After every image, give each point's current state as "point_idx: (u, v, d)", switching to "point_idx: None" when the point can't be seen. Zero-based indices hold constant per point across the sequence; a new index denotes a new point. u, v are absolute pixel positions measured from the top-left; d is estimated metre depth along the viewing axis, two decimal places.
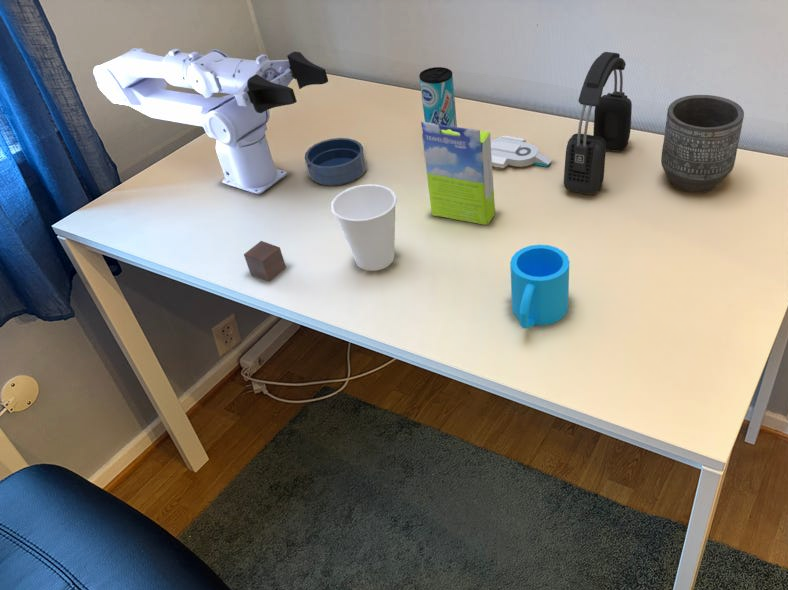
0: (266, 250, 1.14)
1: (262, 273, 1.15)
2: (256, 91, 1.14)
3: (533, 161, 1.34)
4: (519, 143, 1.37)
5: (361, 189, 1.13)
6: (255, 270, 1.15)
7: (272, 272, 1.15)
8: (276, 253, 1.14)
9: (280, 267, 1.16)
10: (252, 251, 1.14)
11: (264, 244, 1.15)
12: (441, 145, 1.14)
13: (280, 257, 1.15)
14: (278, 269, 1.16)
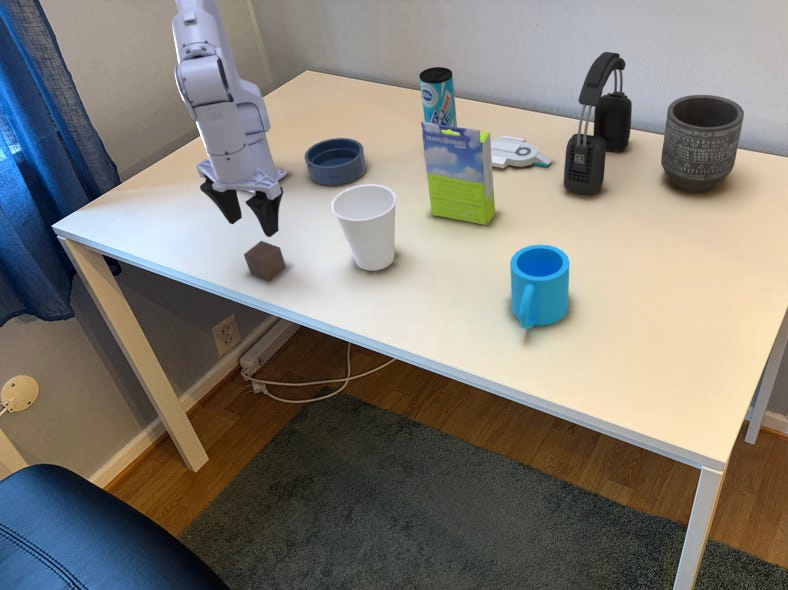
0: (266, 250, 1.14)
1: (262, 273, 1.15)
2: None
3: (533, 161, 1.34)
4: (519, 143, 1.37)
5: (361, 189, 1.13)
6: (255, 270, 1.15)
7: (272, 272, 1.15)
8: (276, 253, 1.14)
9: (280, 267, 1.16)
10: (252, 251, 1.14)
11: (264, 244, 1.15)
12: (441, 145, 1.14)
13: (280, 257, 1.15)
14: (278, 269, 1.16)
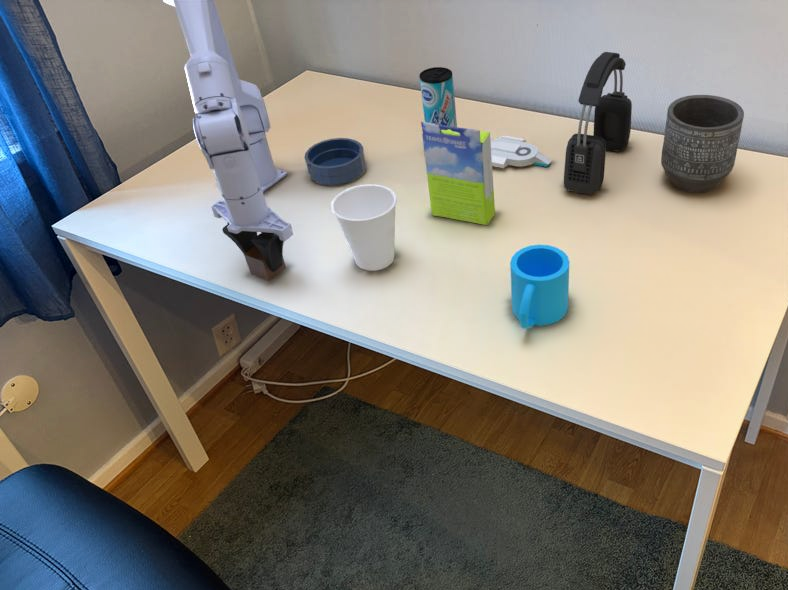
0: None
1: (262, 273, 1.15)
2: None
3: (533, 161, 1.34)
4: (519, 143, 1.37)
5: (361, 189, 1.13)
6: (256, 270, 1.15)
7: (272, 272, 1.15)
8: None
9: (280, 267, 1.16)
10: (252, 251, 1.14)
11: None
12: (441, 145, 1.14)
13: None
14: (278, 269, 1.16)
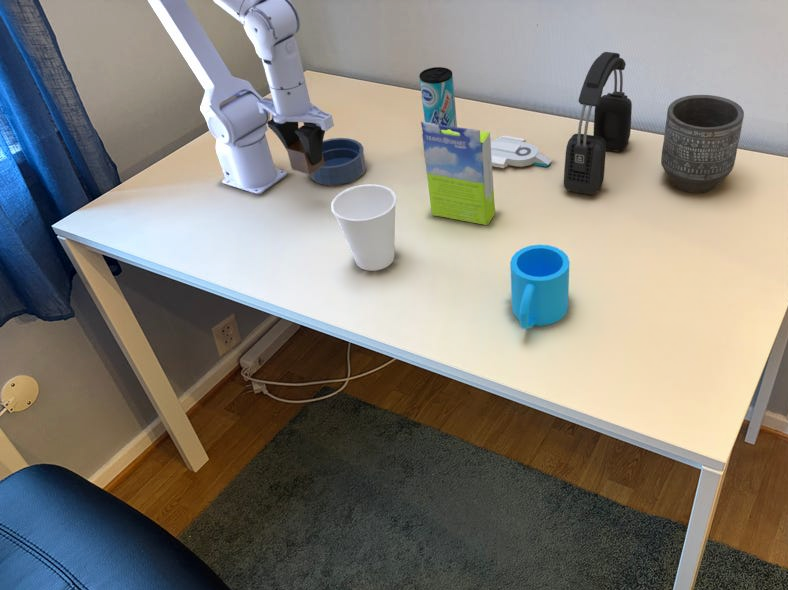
0: None
1: (303, 166, 1.23)
2: None
3: (533, 161, 1.34)
4: (519, 143, 1.37)
5: (361, 189, 1.13)
6: (297, 164, 1.24)
7: (312, 166, 1.24)
8: None
9: (319, 162, 1.25)
10: (294, 146, 1.23)
11: None
12: (441, 145, 1.14)
13: None
14: (318, 164, 1.25)
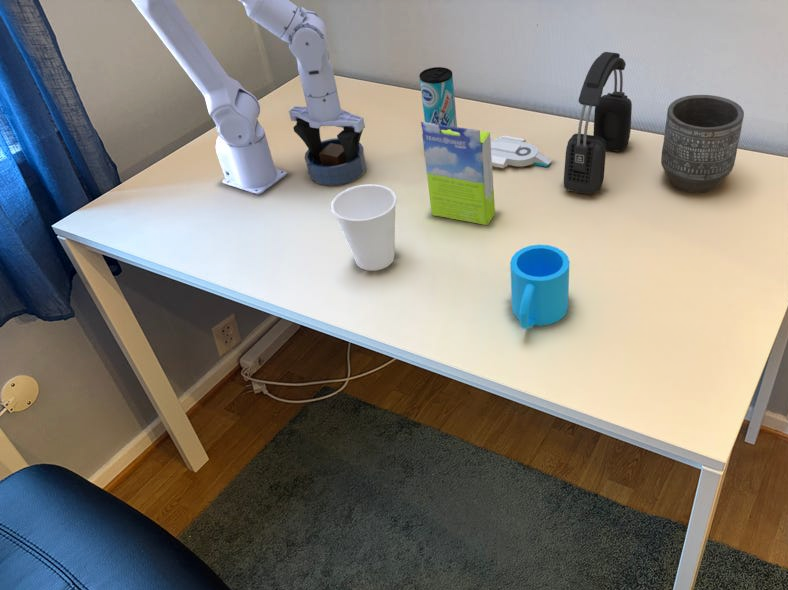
0: (337, 149, 1.34)
1: None
2: None
3: (533, 161, 1.34)
4: (519, 143, 1.37)
5: (361, 189, 1.13)
6: None
7: None
8: None
9: None
10: (326, 151, 1.34)
11: (334, 145, 1.36)
12: (441, 145, 1.14)
13: None
14: None
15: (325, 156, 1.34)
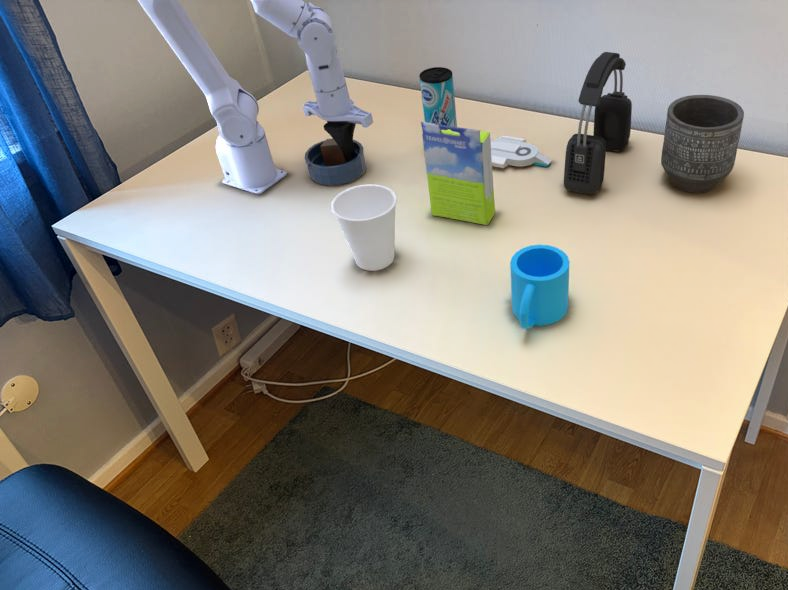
0: None
1: (339, 159, 1.35)
2: None
3: (533, 161, 1.34)
4: (519, 143, 1.37)
5: (361, 189, 1.13)
6: (332, 159, 1.36)
7: None
8: None
9: None
10: (326, 143, 1.35)
11: (332, 139, 1.37)
12: (441, 145, 1.14)
13: None
14: None
15: (327, 147, 1.34)
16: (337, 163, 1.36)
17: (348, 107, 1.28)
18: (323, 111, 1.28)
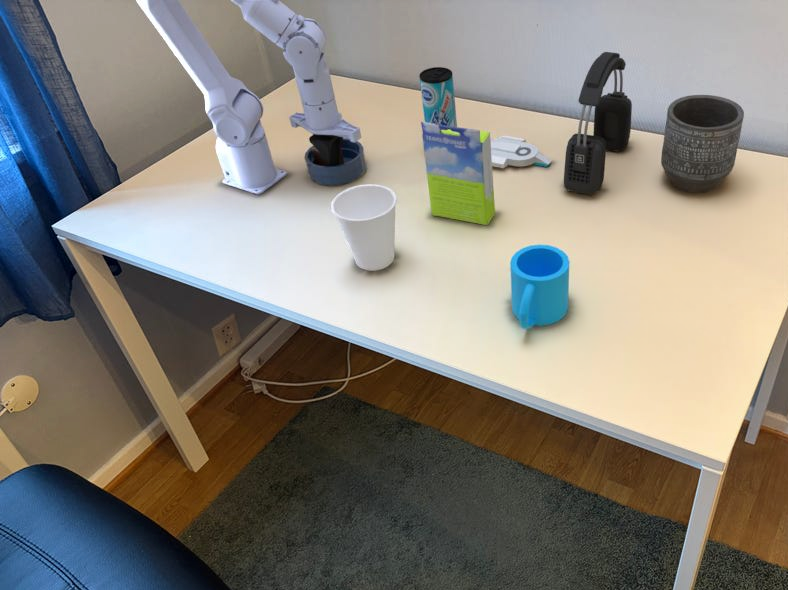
0: None
1: None
2: None
3: (533, 161, 1.34)
4: (519, 143, 1.37)
5: (361, 189, 1.13)
6: (318, 163, 1.36)
7: None
8: None
9: None
10: None
11: None
12: (441, 145, 1.14)
13: (340, 156, 1.36)
14: None
15: (315, 151, 1.35)
16: None
17: (336, 121, 1.27)
18: (310, 124, 1.26)
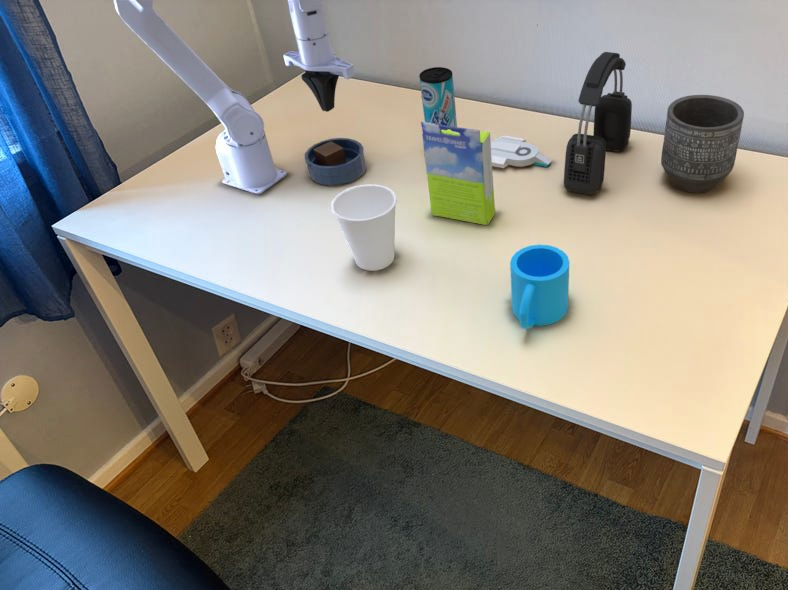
0: (332, 148, 1.35)
1: None
2: None
3: (533, 161, 1.34)
4: (519, 143, 1.37)
5: (361, 189, 1.13)
6: (321, 164, 1.36)
7: None
8: (339, 152, 1.35)
9: None
10: (321, 148, 1.35)
11: (332, 144, 1.36)
12: (441, 145, 1.14)
13: (342, 157, 1.36)
14: None
15: (317, 153, 1.35)
16: None
17: (330, 58, 1.28)
18: (304, 60, 1.27)
